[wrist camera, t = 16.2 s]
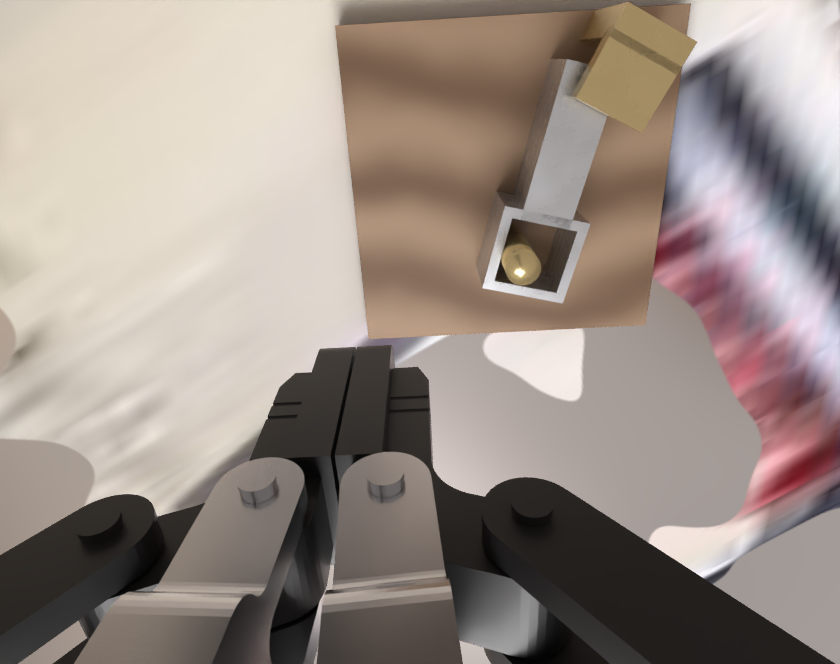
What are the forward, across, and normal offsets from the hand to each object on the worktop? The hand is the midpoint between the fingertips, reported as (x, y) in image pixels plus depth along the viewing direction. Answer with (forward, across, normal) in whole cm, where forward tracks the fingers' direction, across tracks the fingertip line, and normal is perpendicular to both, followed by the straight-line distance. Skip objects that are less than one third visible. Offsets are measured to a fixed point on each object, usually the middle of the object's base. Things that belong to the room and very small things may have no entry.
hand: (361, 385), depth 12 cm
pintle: (+26, -7, +5) cm, 27 cm away
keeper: (+26, -12, -5) cm, 29 cm away
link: (+26, -9, +1) cm, 27 cm away
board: (+27, -7, +2) cm, 28 cm away
